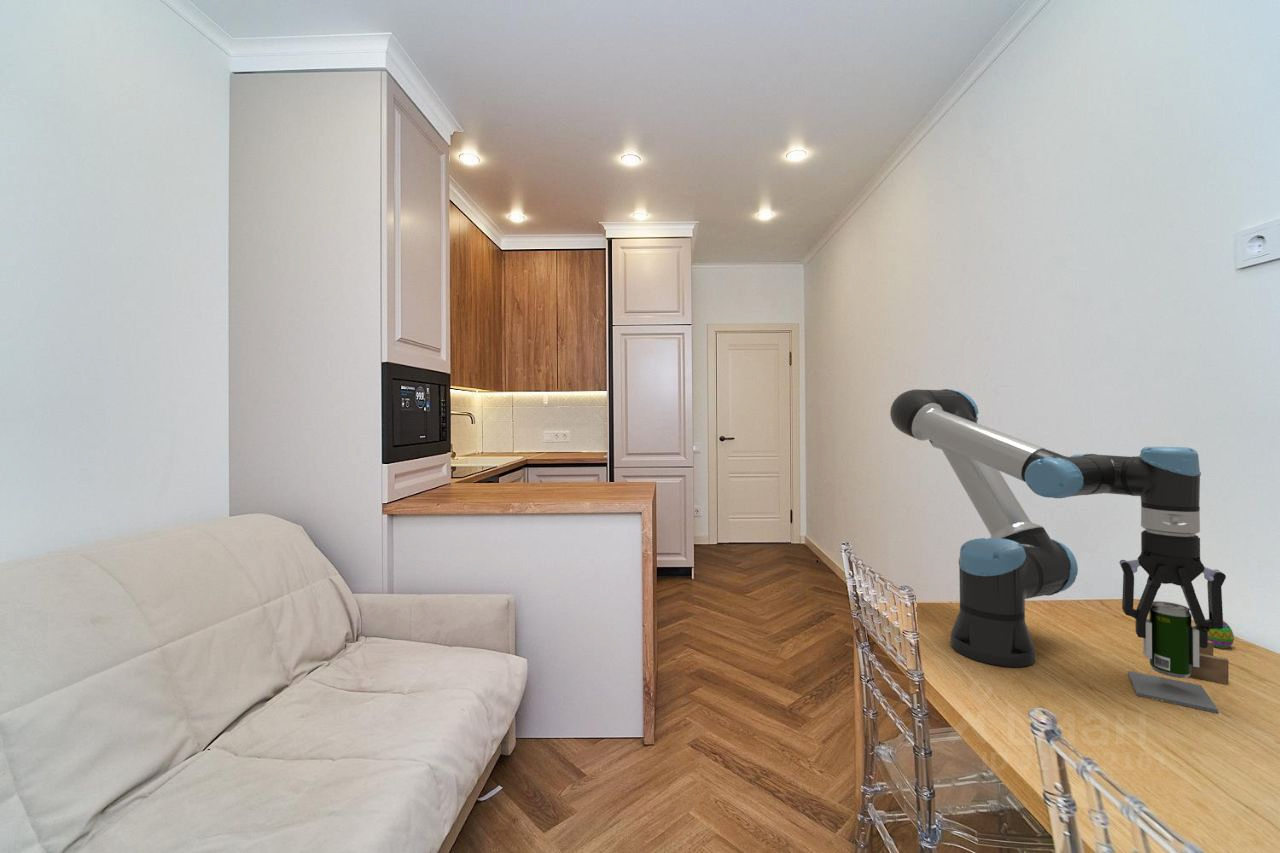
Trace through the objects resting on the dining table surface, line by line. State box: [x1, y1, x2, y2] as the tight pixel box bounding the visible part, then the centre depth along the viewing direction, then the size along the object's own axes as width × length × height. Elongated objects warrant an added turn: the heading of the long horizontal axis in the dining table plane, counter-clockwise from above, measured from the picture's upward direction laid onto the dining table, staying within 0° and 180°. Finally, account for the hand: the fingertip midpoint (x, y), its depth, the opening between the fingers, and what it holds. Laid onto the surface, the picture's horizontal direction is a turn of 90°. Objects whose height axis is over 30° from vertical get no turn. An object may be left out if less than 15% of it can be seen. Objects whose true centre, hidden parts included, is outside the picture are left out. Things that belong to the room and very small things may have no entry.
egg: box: [1208, 620, 1235, 649], centre depth 115 cm, size 5×5×6 cm
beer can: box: [1148, 600, 1193, 679], centre depth 95 cm, size 5×5×12 cm
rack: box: [1188, 641, 1230, 685], centre depth 105 cm, size 9×10×4 cm
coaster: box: [1127, 670, 1219, 714], centre depth 95 cm, size 10×10×1 cm
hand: (1170, 659), depth 95 cm, fingers closed on beer can, 5 cm apart
